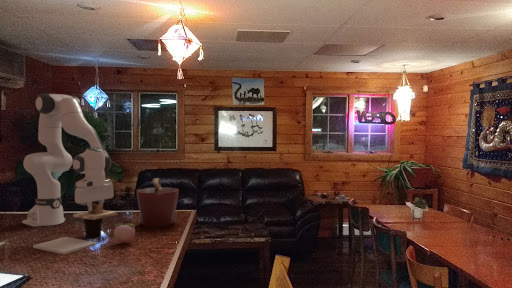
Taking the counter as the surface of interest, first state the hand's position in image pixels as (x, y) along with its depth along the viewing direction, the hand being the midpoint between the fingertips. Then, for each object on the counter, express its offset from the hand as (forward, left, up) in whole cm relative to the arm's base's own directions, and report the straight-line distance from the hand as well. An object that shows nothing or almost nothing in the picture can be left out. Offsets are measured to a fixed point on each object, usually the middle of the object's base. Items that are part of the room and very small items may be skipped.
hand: (95, 210), depth 188 cm
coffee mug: (0, 0, -13) cm, 13 cm away
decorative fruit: (+22, -3, -13) cm, 26 cm away
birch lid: (0, 0, -3) cm, 3 cm away
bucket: (+8, +34, -13) cm, 37 cm away
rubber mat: (+2, -18, -13) cm, 22 cm away
